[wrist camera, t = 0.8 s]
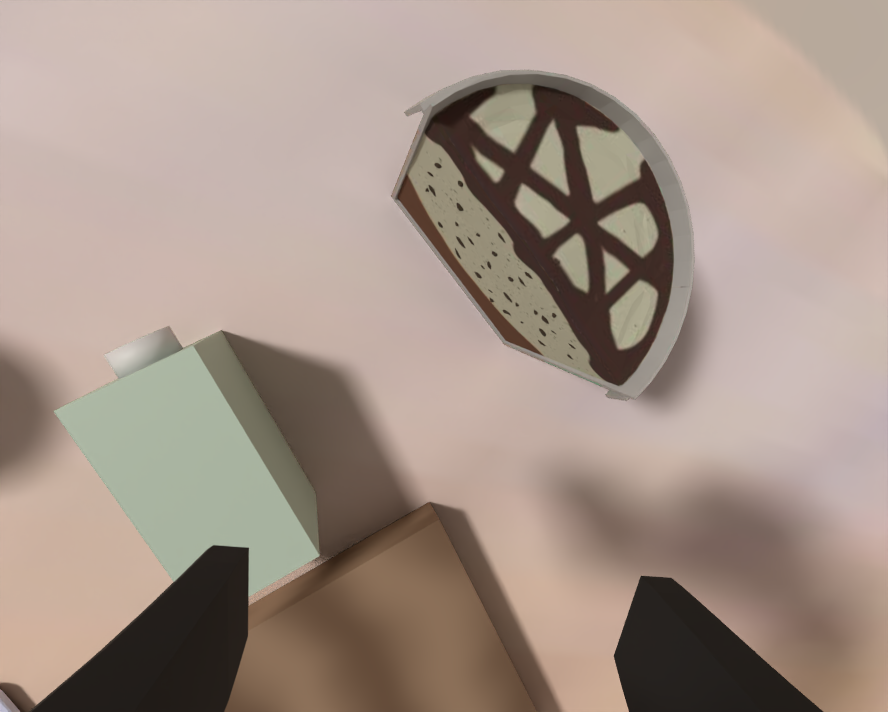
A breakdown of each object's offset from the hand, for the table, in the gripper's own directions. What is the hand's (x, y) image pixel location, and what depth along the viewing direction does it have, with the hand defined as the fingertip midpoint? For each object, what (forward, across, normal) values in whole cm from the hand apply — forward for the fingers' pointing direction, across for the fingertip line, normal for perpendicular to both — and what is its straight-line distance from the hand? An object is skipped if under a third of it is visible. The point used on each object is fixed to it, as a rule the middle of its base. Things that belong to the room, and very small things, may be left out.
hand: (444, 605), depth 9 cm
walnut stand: (+12, 0, +19) cm, 22 cm away
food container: (+19, -3, -5) cm, 20 cm away
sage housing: (+14, +9, +5) cm, 17 cm away
